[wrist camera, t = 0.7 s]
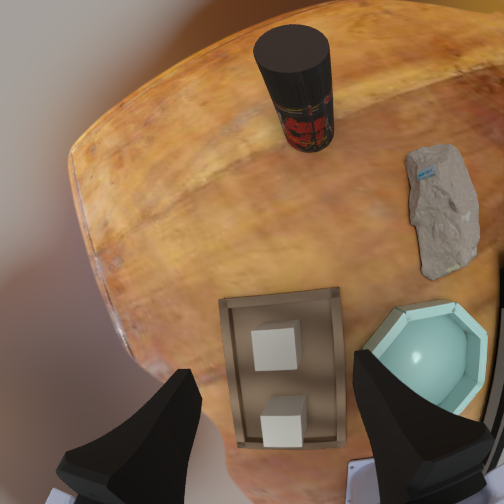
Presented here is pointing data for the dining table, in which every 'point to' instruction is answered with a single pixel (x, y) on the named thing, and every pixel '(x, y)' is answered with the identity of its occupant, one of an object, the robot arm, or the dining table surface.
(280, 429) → the stone
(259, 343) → the stone
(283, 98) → the deodorant
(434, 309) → the bowl
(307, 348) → the tray
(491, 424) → the game console
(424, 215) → the concrete fragment
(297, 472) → the dining table surface
